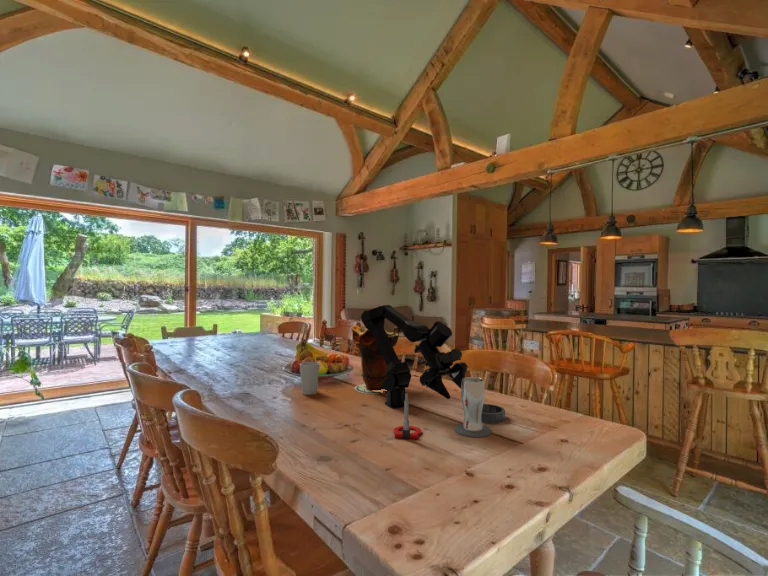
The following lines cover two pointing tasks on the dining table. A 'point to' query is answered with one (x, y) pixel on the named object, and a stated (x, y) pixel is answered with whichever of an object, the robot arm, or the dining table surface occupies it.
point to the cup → (309, 377)
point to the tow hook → (406, 425)
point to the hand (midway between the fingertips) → (458, 395)
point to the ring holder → (493, 413)
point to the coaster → (483, 433)
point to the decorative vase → (372, 359)
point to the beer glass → (472, 403)
